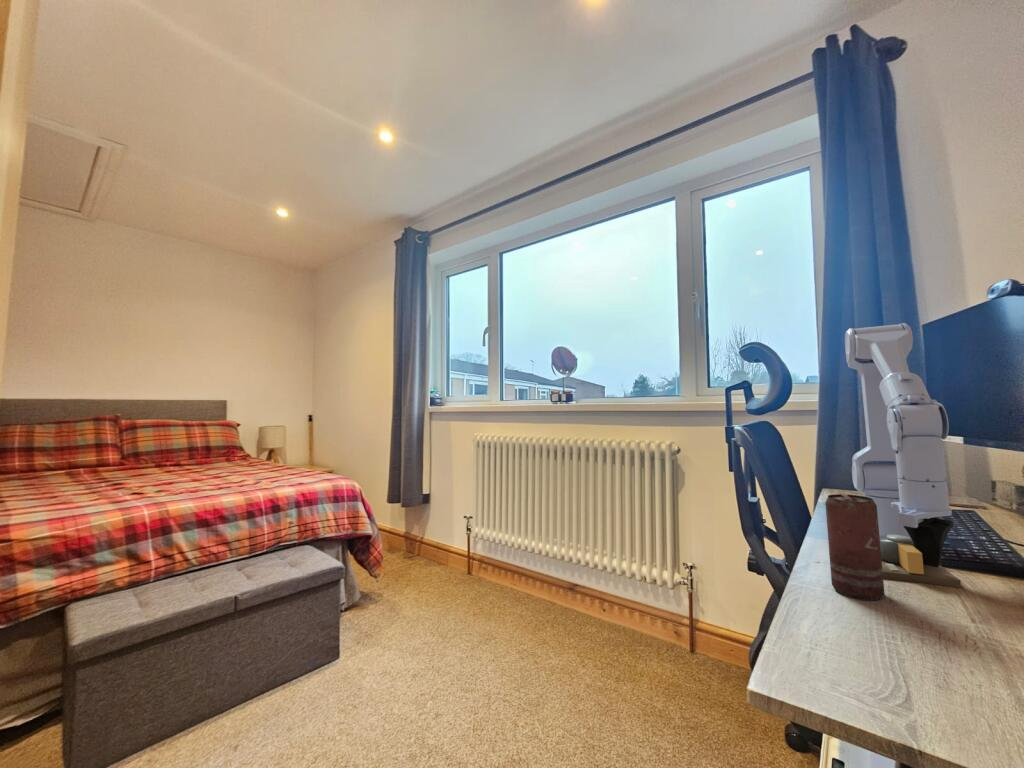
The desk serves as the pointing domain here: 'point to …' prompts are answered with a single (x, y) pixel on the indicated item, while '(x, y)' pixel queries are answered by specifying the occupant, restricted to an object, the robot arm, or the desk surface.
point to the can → (854, 546)
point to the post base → (930, 574)
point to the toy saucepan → (901, 552)
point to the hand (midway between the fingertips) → (929, 565)
